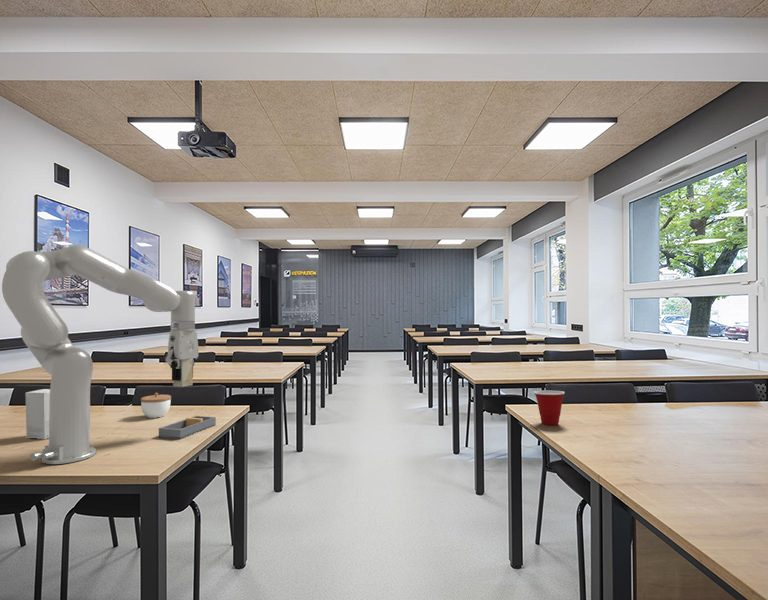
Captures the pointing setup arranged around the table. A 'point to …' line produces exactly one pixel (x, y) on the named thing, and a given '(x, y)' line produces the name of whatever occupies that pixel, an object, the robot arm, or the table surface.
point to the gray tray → (186, 428)
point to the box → (185, 373)
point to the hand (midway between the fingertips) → (182, 378)
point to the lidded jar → (155, 405)
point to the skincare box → (37, 414)
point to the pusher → (192, 421)
